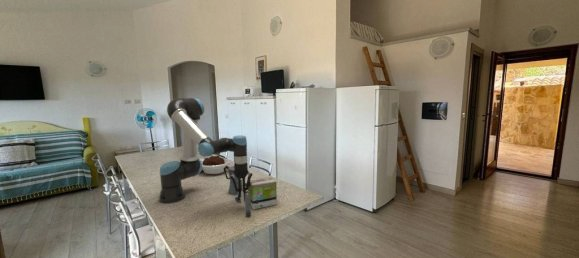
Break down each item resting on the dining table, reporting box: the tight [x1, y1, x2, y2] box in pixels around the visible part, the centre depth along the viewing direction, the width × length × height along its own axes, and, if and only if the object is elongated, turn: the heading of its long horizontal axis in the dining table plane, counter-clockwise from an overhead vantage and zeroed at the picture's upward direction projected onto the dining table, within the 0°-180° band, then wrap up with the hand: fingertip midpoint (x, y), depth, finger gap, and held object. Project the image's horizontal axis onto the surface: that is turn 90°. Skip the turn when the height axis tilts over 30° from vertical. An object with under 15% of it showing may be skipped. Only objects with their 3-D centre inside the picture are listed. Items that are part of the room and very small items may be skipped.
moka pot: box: [223, 165, 238, 195], centre depth 168 cm, size 10×15×20 cm, turn 78°
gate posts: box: [234, 179, 252, 218], centre depth 145 cm, size 6×27×13 cm, turn 22°
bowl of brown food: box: [201, 155, 230, 175], centre depth 213 cm, size 25×25×15 cm
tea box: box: [247, 176, 277, 211], centre depth 149 cm, size 15×10×15 cm, turn 118°
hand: (242, 201), depth 144 cm, fingers closed
